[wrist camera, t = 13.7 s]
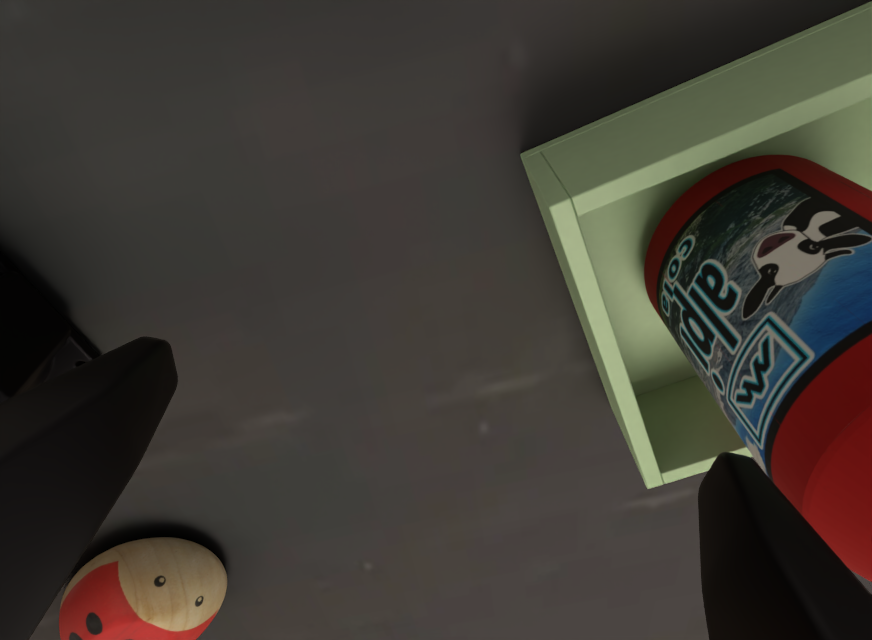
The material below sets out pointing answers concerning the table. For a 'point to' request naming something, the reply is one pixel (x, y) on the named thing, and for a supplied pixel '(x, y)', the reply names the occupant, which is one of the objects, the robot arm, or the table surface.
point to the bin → (658, 190)
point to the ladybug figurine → (144, 592)
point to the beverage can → (781, 327)
